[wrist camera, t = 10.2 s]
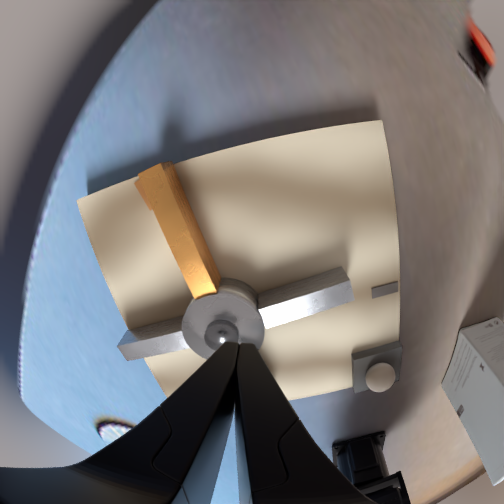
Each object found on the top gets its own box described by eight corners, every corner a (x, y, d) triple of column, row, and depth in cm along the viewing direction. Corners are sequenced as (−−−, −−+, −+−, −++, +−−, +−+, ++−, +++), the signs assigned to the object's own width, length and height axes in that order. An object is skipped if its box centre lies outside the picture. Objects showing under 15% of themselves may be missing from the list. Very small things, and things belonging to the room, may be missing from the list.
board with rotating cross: (390, 363, 23) (405, 395, 19) (179, 399, 25) (169, 432, 21) (372, 121, 16) (401, 116, 12) (87, 196, 18) (53, 209, 14)
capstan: (293, 114, 15) (300, 107, 12) (361, 360, 21) (372, 387, 18) (68, 215, 17) (42, 228, 14) (180, 403, 23) (173, 429, 20)
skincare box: (458, 327, 21) (540, 441, 7) (499, 314, 21) (579, 404, 7) (439, 387, 24) (490, 491, 10) (478, 372, 24) (533, 461, 10)
